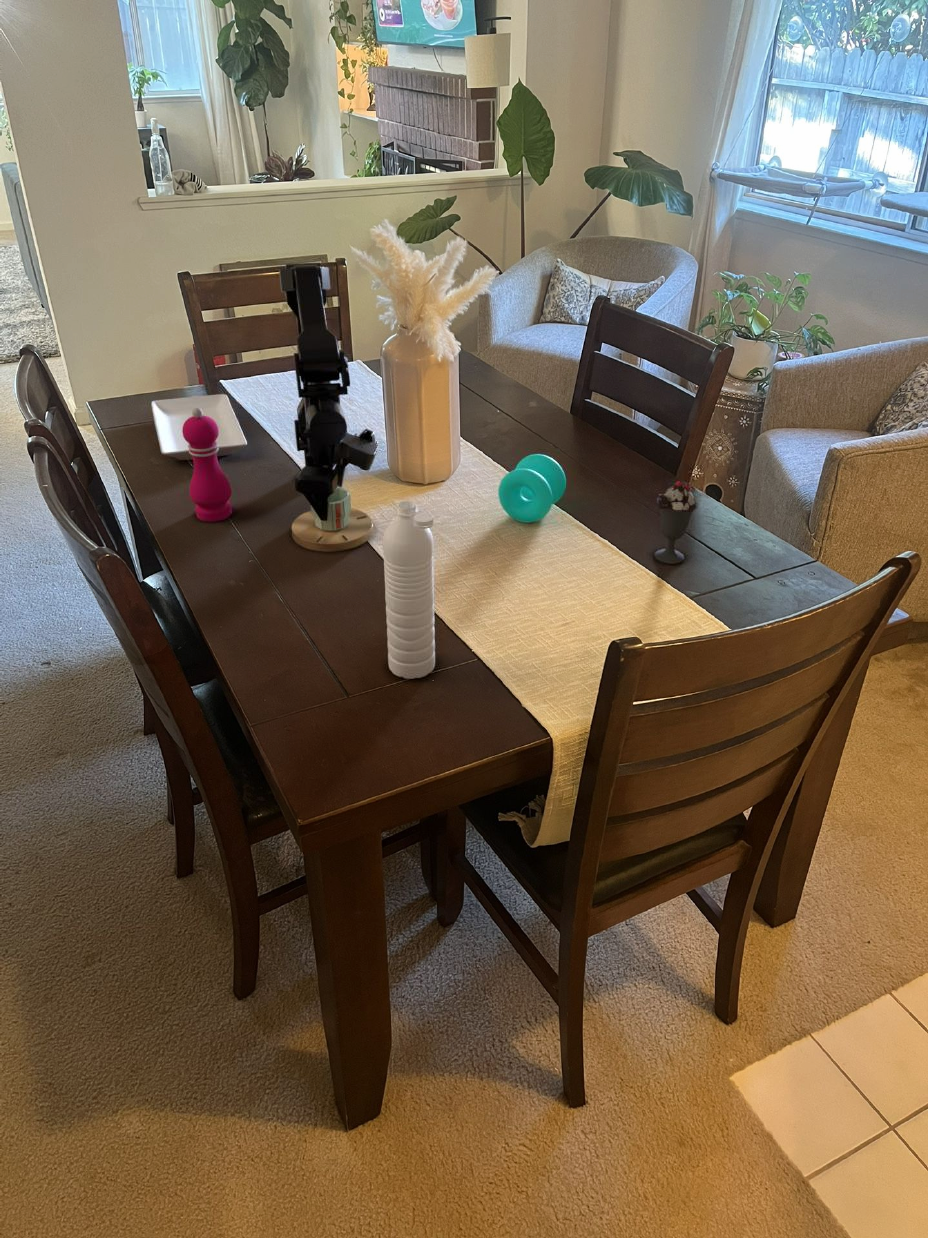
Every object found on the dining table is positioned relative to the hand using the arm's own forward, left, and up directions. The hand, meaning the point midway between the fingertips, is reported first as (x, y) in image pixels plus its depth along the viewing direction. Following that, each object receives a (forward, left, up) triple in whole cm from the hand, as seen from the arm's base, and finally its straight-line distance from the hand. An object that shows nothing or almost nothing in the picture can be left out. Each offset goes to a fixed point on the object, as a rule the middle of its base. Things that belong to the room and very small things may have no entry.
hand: (330, 508), depth 158 cm
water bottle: (+38, +21, -5) cm, 44 cm away
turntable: (0, 0, -5) cm, 5 cm away
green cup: (0, 0, -3) cm, 3 cm away
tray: (-39, -39, -5) cm, 55 cm away
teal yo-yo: (-12, +34, -5) cm, 36 cm away
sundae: (+1, +58, -5) cm, 58 cm away
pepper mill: (-4, -23, -5) cm, 24 cm away
